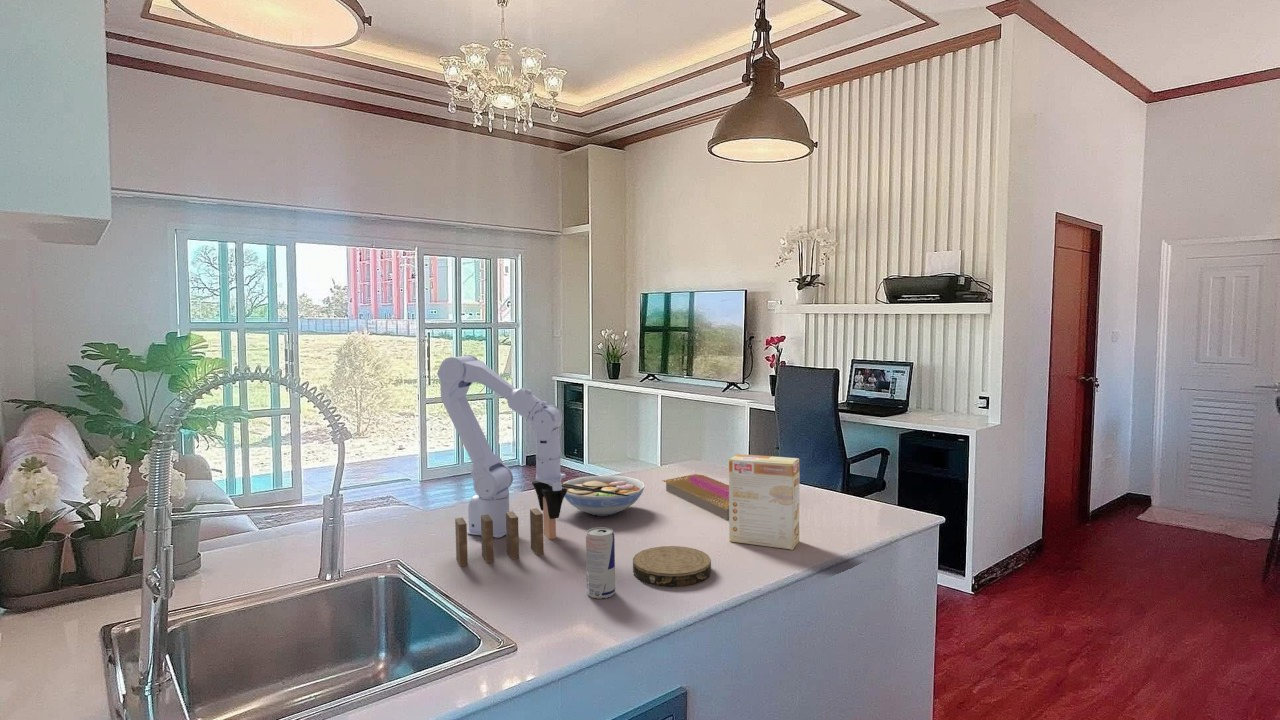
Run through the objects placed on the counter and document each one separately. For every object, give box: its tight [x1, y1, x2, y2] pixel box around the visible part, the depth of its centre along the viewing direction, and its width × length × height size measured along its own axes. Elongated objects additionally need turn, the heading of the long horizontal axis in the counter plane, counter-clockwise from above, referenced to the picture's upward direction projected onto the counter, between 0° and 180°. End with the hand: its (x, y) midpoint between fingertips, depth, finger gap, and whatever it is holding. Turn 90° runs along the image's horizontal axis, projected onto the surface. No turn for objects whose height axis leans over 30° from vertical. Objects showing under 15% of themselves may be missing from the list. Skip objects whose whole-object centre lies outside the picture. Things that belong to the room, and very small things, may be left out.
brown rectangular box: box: [661, 473, 729, 521], centre depth 193 cm, size 35×14×6 cm, turn 26°
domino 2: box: [480, 514, 495, 563], centre depth 149 cm, size 2×5×9 cm, turn 24°
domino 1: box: [454, 517, 469, 567], centre depth 147 cm, size 2×5×9 cm, turn 23°
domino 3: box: [505, 510, 520, 560], centre depth 152 cm, size 2×5×9 cm, turn 24°
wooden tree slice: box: [632, 545, 712, 588], centre depth 141 cm, size 16×16×3 cm
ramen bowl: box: [562, 475, 646, 517], centre depth 183 cm, size 25×23×8 cm
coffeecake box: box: [728, 453, 801, 551], centre depth 158 cm, size 15×7×20 cm, turn 65°
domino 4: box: [529, 508, 545, 556], centre depth 154 cm, size 2×5×9 cm, turn 24°
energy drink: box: [585, 526, 616, 600], centre depth 130 cm, size 5×5×12 cm
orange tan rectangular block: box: [542, 497, 557, 540], centre depth 164 cm, size 2×5×9 cm, turn 24°
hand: (549, 513), depth 164 cm, fingers open, 7 cm apart
